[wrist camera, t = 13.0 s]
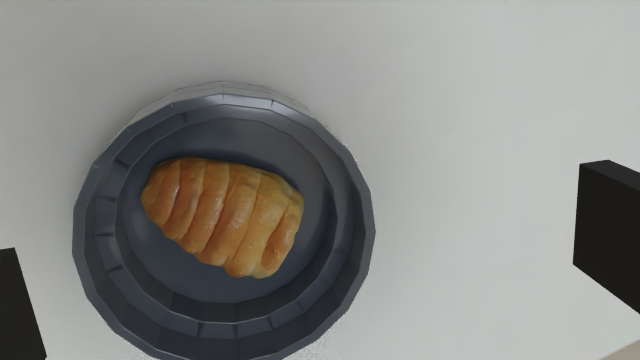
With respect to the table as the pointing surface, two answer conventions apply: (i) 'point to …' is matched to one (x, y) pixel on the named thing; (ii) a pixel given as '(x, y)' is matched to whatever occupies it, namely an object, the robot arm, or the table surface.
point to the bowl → (210, 280)
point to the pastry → (225, 213)
